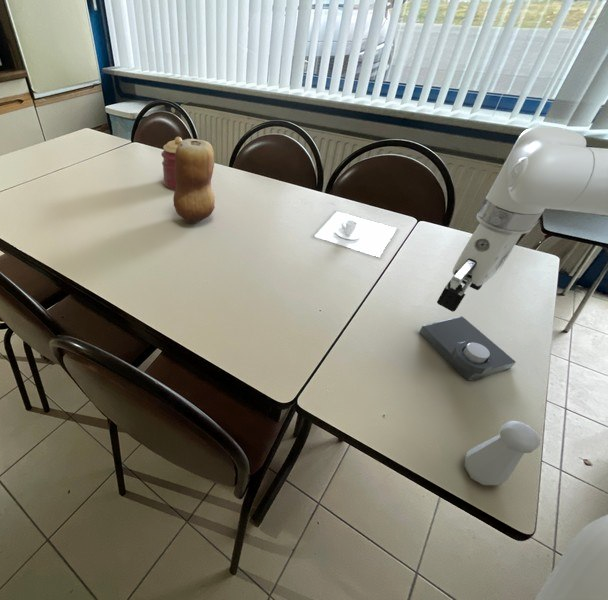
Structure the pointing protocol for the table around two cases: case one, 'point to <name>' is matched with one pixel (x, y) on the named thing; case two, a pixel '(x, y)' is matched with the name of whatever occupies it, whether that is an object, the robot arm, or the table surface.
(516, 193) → the robot arm
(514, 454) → the salt shaker
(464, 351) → the flush button
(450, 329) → the plate
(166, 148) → the kitchen canister
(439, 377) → the table surface
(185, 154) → the butternut squash
